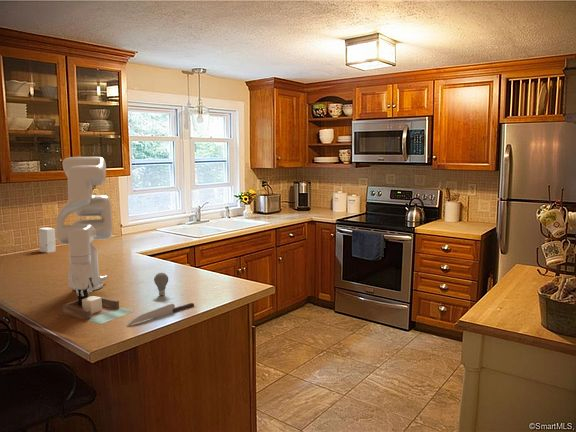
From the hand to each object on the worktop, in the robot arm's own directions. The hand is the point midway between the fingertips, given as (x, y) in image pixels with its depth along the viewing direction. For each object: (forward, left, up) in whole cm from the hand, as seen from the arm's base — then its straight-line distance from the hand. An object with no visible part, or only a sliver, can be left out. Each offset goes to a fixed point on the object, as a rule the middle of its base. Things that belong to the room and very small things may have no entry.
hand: (83, 305), depth 185 cm
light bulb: (-30, +12, -3) cm, 33 cm away
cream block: (0, +5, -2) cm, 5 cm away
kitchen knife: (-11, +30, -3) cm, 32 cm away
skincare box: (-62, -116, -3) cm, 132 cm away
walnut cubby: (0, +8, -3) cm, 8 cm away
